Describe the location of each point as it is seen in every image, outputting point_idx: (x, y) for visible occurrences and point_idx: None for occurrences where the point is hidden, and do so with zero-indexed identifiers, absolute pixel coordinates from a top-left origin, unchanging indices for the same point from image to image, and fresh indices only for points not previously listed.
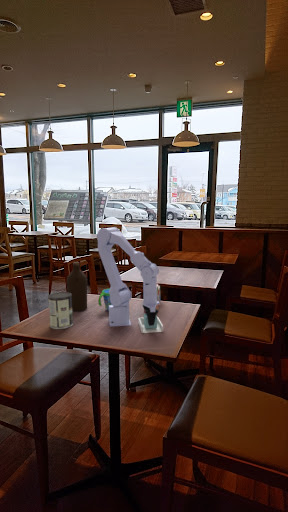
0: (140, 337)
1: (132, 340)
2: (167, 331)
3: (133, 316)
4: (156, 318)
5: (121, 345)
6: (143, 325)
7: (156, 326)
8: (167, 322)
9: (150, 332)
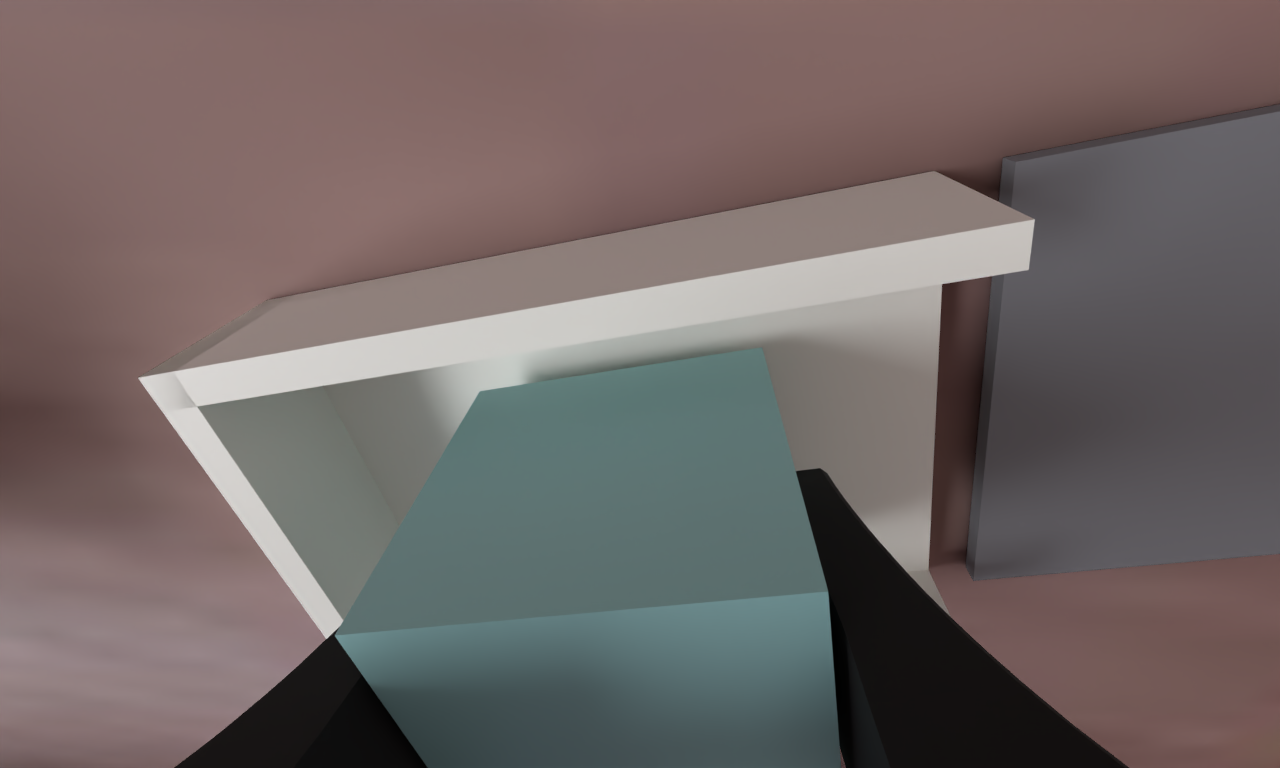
0: (1063, 586)
1: (1146, 673)
2: (856, 34)
3: (123, 665)
4: (814, 542)
5: (1265, 764)
6: None
7: (770, 378)
8: (133, 27)
9: (933, 460)
